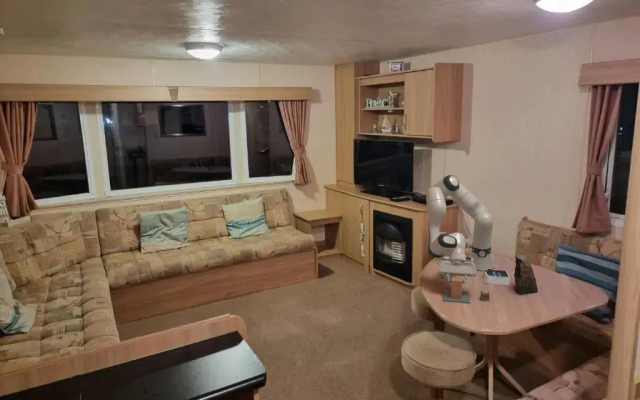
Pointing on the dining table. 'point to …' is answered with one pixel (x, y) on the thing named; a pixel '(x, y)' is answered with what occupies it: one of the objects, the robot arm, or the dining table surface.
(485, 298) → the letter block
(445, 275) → the supplement box
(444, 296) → the grey mat
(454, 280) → the tan rectangular pillar
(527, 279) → the dark brown rock
